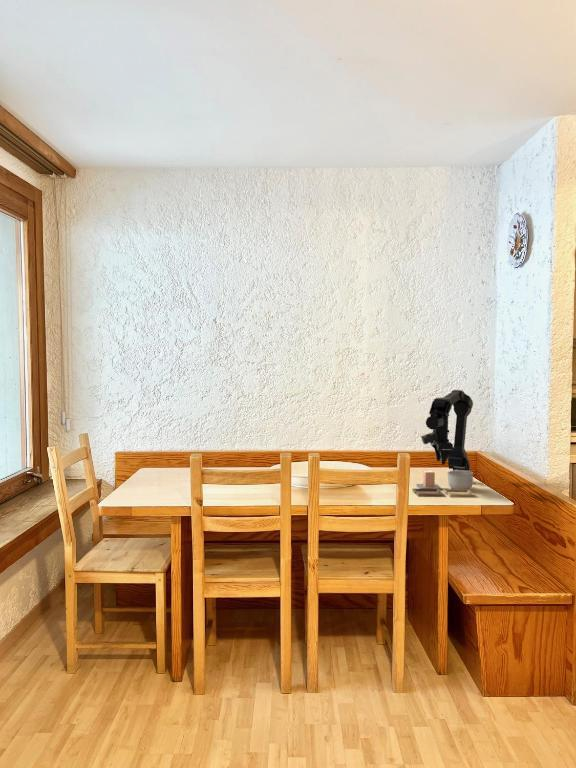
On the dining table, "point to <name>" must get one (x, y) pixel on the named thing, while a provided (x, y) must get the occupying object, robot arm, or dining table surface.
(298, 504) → the dining table surface
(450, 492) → the oak tray
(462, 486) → the teacup
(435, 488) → the slate tile
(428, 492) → the walnut tray
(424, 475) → the letter block
